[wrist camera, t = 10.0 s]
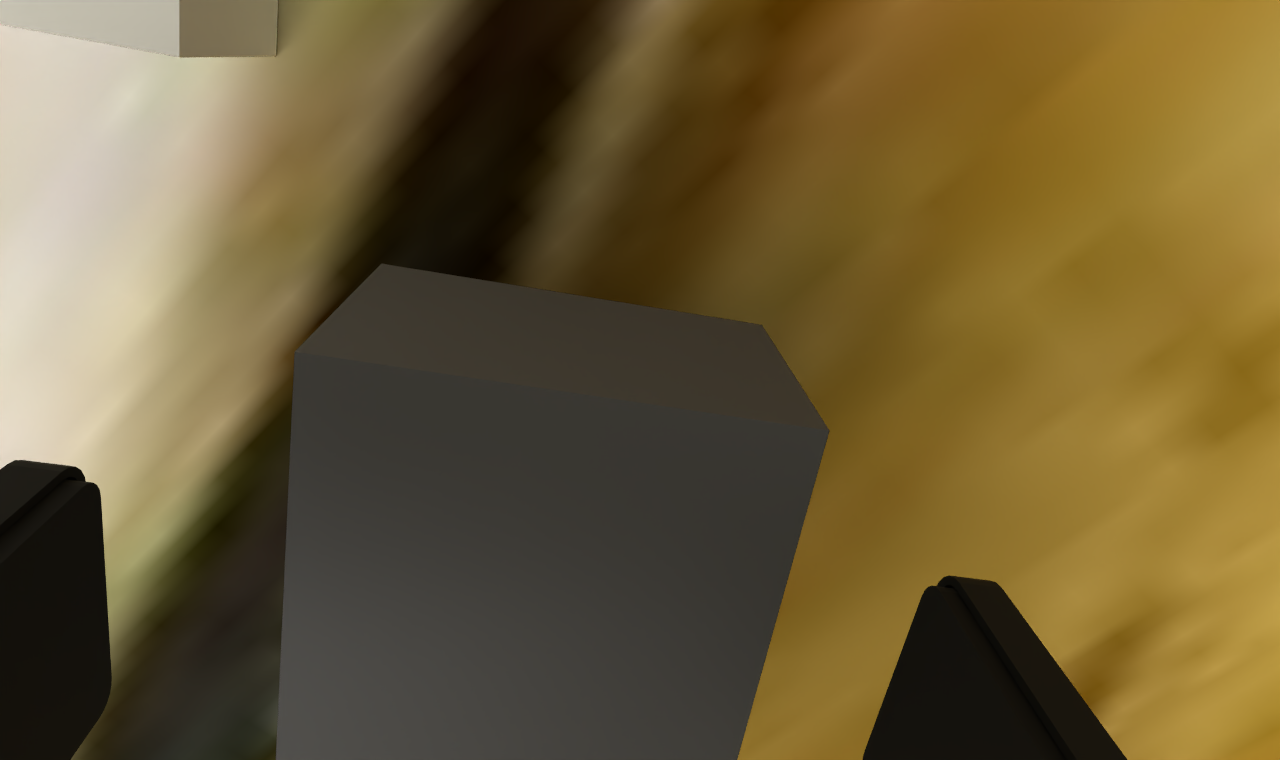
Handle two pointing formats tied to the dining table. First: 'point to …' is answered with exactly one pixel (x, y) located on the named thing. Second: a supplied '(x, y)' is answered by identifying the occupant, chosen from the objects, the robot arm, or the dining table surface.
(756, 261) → the dining table surface
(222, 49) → the socket
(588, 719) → the plug
